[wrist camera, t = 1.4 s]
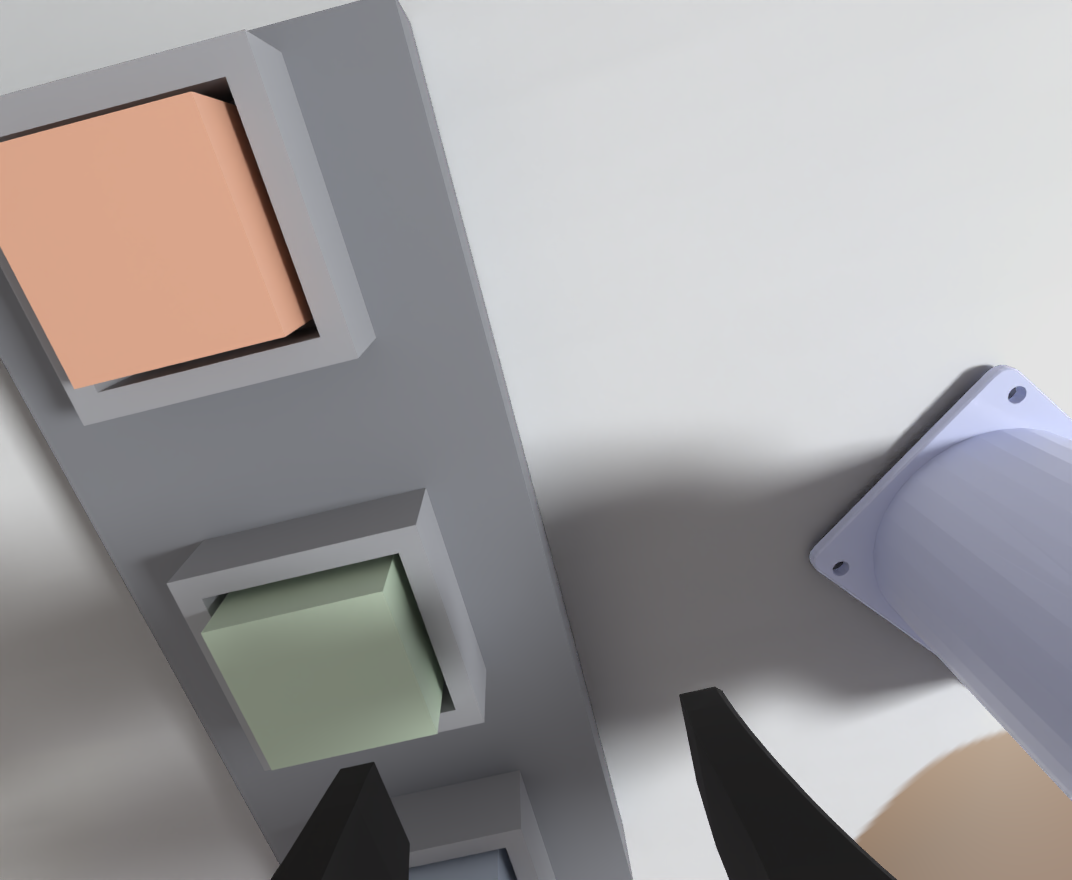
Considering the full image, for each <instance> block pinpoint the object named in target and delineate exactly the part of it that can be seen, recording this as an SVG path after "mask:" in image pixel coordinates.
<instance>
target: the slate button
mask: <svg viewBox="0 0 1072 880" xmlns="http://www.w3.org/2000/svg"><path fill="white" fill-rule="evenodd" d="M409 880H517V877H516V875H515V872H514V869H513V866H512V863H511V861H510V858H509V855H508V852H507V850H506V848H501V849H497V850H492V851H487V852H482V853H478V854H473V855H468V856H464V857H459V858H454V859H449V860H445V861H440V862H435V863H431V864H426V865H421V866H416V867H412V868H409Z"/></svg>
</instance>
